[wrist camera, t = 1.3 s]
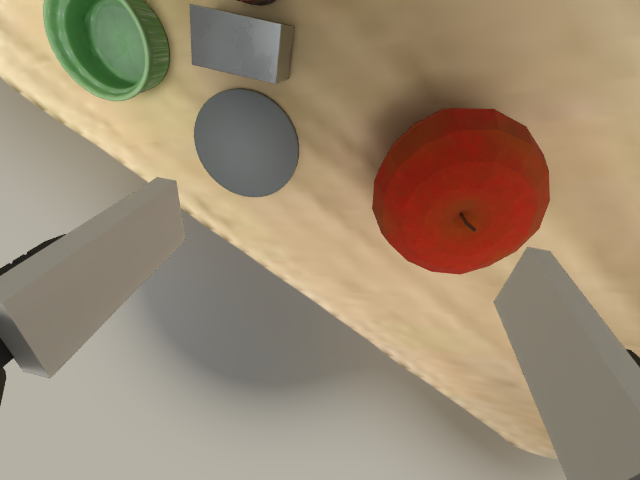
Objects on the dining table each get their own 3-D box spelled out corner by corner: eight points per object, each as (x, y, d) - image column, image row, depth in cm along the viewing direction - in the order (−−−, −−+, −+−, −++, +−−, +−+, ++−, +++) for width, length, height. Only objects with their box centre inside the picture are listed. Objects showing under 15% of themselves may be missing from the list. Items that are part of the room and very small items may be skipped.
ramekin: (184, 98, 31) (159, 105, 28) (102, 91, 32) (67, 97, 29) (165, -17, 27) (131, -26, 23) (69, -21, 27) (22, -31, 24)
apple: (413, 68, 27) (441, 88, 15) (534, 124, 28) (649, 184, 16) (354, 189, 34) (341, 268, 22) (453, 231, 35) (492, 329, 23)
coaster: (196, 76, 30) (191, 77, 29) (306, 102, 30) (305, 104, 29) (199, 181, 36) (196, 184, 35) (291, 204, 36) (289, 207, 35)
